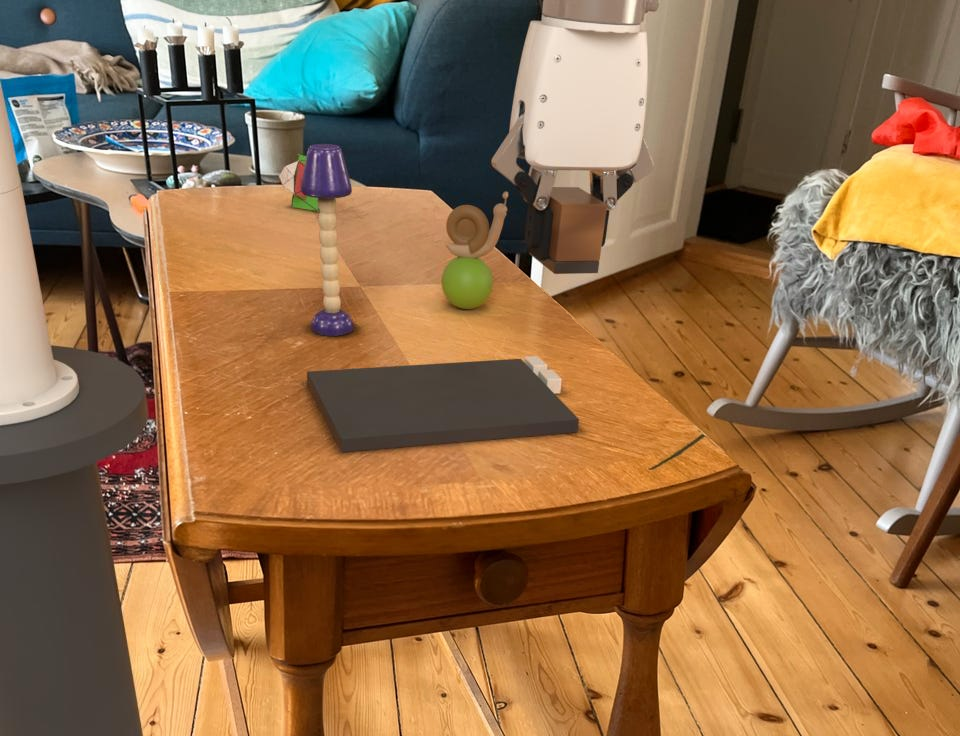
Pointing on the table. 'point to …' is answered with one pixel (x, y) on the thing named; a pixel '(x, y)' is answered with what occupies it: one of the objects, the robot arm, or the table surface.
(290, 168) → the geometric puzzle
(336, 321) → the toy lamp
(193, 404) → the table surface
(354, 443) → the board
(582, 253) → the eraser
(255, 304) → the table surface
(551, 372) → the chalk piece
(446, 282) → the snail figurine
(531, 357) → the chalk piece
